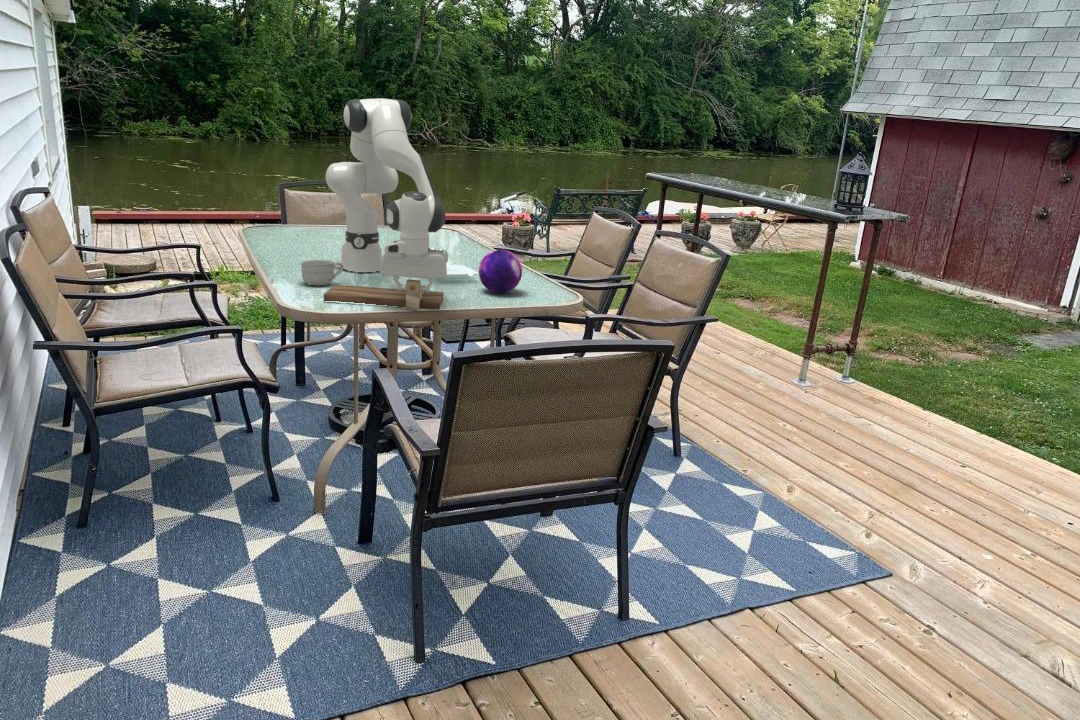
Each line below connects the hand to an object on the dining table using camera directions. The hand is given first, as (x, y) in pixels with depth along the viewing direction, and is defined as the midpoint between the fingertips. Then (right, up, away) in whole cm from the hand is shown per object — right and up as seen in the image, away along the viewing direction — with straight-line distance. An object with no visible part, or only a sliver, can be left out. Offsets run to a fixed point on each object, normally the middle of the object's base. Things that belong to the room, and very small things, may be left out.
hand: (413, 291), depth 249 cm
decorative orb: (+25, +2, +32) cm, 41 cm away
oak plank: (-11, -2, +10) cm, 15 cm away
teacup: (-35, +4, +25) cm, 43 cm away
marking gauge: (-1, -3, +8) cm, 9 cm away
